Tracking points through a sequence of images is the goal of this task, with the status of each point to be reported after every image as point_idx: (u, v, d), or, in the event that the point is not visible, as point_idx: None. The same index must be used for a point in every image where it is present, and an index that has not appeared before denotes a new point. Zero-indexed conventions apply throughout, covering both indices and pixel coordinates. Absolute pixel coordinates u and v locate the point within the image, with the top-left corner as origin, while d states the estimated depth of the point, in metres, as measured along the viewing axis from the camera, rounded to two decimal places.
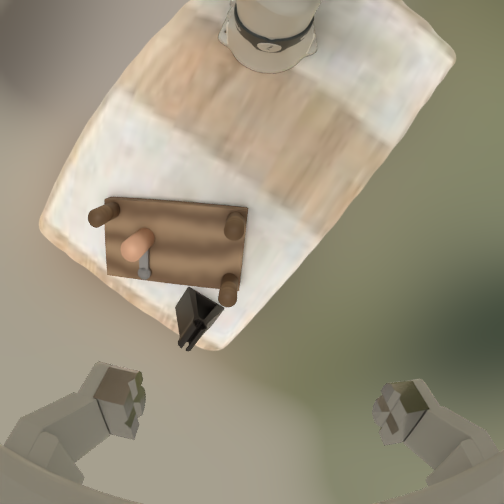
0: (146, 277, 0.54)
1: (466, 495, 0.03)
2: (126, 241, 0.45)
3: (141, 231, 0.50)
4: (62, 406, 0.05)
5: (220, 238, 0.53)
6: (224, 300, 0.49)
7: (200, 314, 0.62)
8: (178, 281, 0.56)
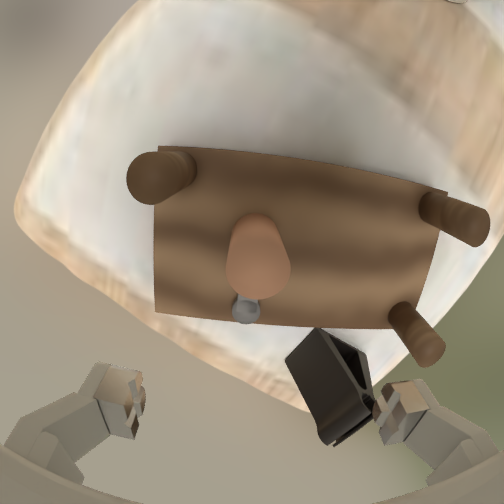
0: (251, 319, 0.26)
1: (466, 495, 0.03)
2: (247, 245, 0.17)
3: (260, 220, 0.22)
4: (62, 406, 0.05)
5: (404, 239, 0.25)
6: (426, 358, 0.21)
7: None
8: (312, 322, 0.28)
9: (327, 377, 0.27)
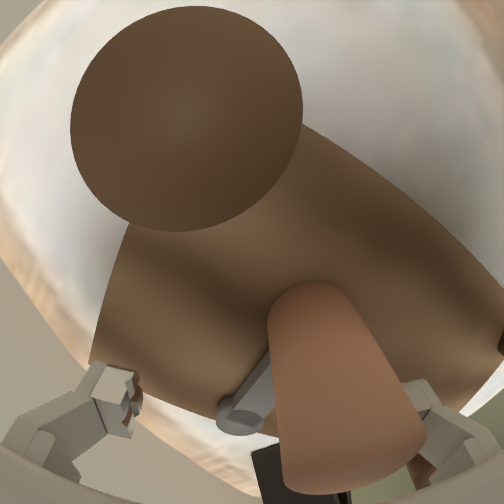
0: (242, 432, 0.14)
1: (466, 495, 0.03)
2: (379, 430, 0.05)
3: (356, 316, 0.10)
4: (59, 405, 0.05)
5: (472, 366, 0.15)
6: None
7: None
8: None
9: (307, 500, 0.16)
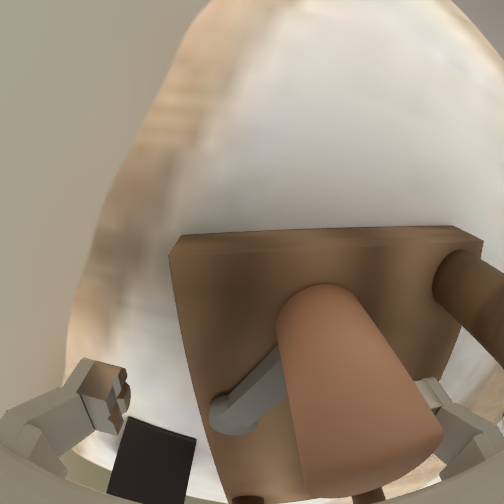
0: (234, 431, 0.14)
1: (466, 495, 0.03)
2: (409, 432, 0.05)
3: (372, 322, 0.10)
4: (46, 400, 0.05)
5: None
6: None
7: None
8: (222, 459, 0.17)
9: (158, 495, 0.15)
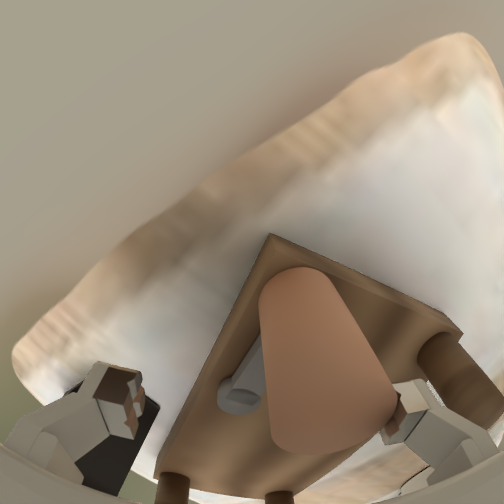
0: (242, 411, 0.16)
1: (466, 495, 0.03)
2: (348, 385, 0.07)
3: (334, 295, 0.12)
4: (62, 406, 0.05)
5: (259, 485, 0.22)
6: None
7: None
8: (187, 433, 0.18)
9: (111, 450, 0.16)
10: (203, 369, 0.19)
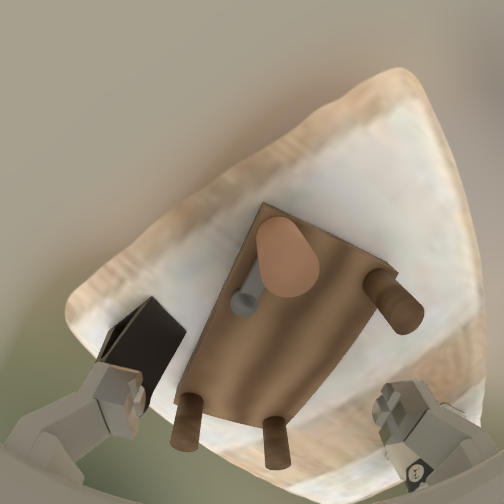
0: (246, 313, 0.28)
1: (466, 495, 0.03)
2: (291, 245, 0.19)
3: (294, 226, 0.23)
4: (62, 406, 0.05)
5: (257, 407, 0.34)
6: (181, 442, 0.26)
7: None
8: (207, 343, 0.30)
9: (151, 357, 0.27)
10: (220, 294, 0.31)
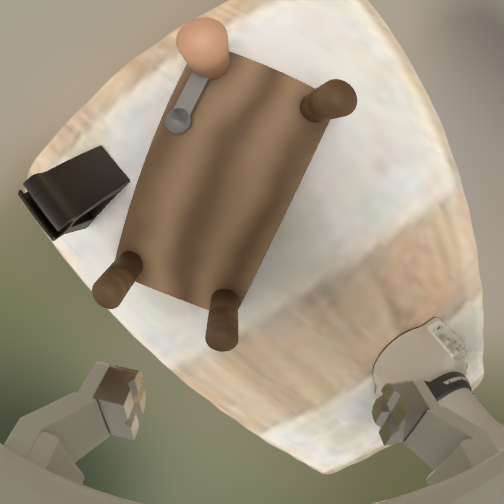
0: (179, 129, 0.26)
1: (466, 495, 0.03)
2: (201, 20, 0.17)
3: None
4: (62, 406, 0.05)
5: (202, 272, 0.33)
6: (103, 288, 0.25)
7: None
8: (144, 178, 0.28)
9: (87, 186, 0.26)
10: None
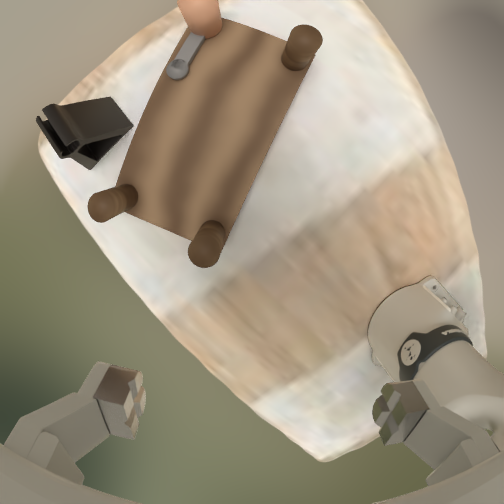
0: (178, 75, 0.28)
1: (466, 495, 0.03)
2: None
3: None
4: (62, 406, 0.05)
5: (192, 203, 0.34)
6: (97, 201, 0.26)
7: None
8: (145, 117, 0.31)
9: (95, 121, 0.28)
10: None
